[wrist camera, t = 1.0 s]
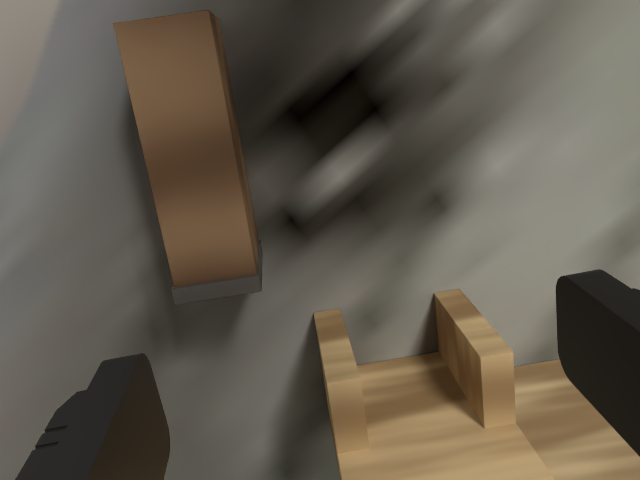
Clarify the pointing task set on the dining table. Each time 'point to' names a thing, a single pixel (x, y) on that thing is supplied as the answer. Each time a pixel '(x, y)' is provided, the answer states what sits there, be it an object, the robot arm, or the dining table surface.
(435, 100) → the dining table surface
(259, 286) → the brown rectangular block
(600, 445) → the light wood notched block
